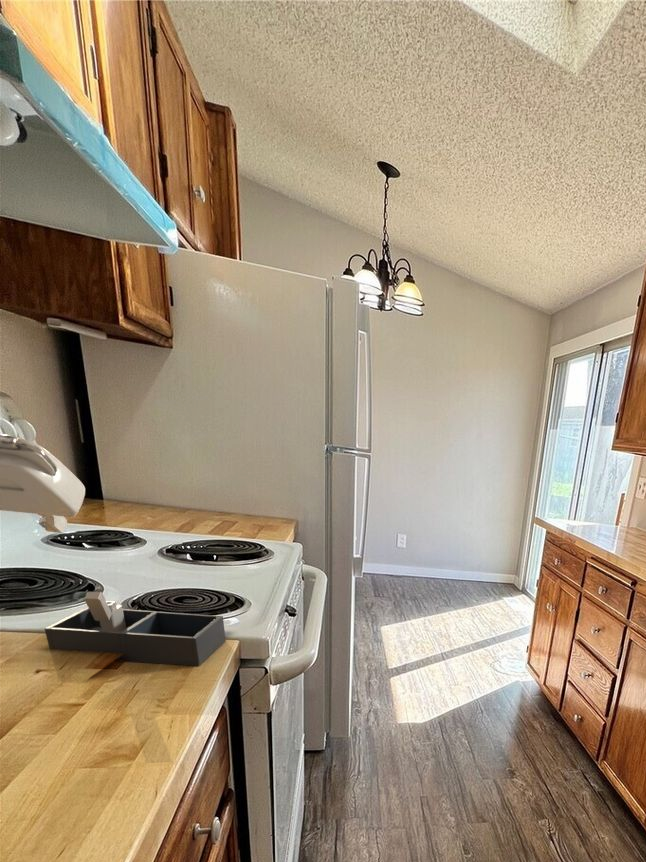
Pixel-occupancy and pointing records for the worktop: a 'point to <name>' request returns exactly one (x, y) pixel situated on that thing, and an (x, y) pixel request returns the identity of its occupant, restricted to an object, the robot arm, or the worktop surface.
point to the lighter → (106, 612)
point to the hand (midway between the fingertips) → (11, 522)
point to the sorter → (143, 636)
